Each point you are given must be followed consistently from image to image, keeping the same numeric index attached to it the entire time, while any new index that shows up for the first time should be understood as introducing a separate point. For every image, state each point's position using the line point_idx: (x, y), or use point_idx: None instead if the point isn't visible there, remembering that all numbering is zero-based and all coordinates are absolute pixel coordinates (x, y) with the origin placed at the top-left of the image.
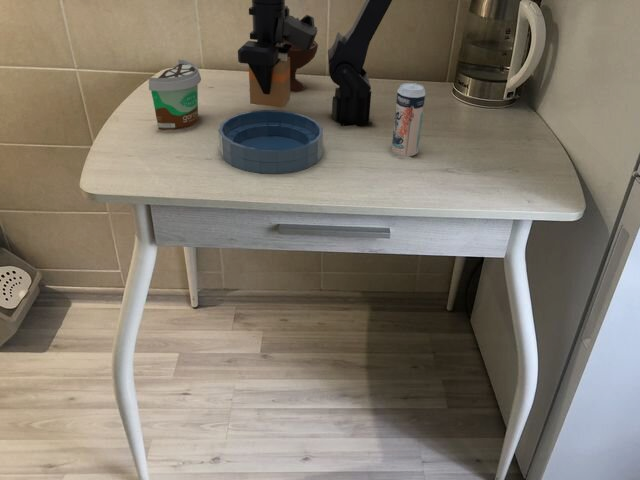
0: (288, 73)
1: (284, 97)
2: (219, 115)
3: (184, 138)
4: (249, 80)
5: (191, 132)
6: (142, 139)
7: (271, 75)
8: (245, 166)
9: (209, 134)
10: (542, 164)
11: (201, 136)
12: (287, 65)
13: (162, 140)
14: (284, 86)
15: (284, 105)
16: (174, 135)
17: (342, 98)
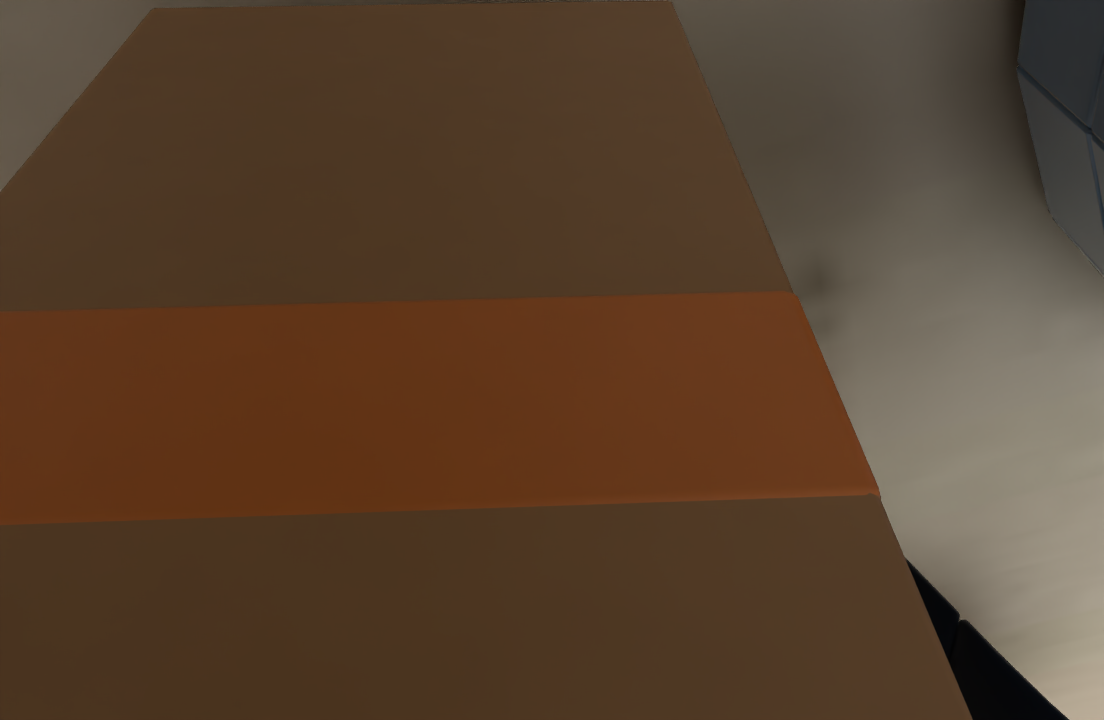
0: (113, 376)
1: (649, 75)
2: None
3: (1070, 585)
4: None
5: (957, 585)
6: (1066, 715)
7: (971, 694)
8: None
9: (999, 494)
10: None
11: (1039, 522)
12: (147, 685)
13: (1093, 654)
14: (674, 209)
15: (628, 9)
16: (1011, 635)
17: None
